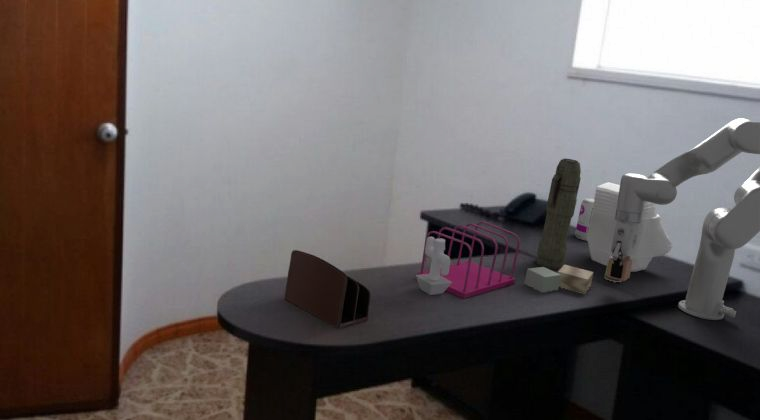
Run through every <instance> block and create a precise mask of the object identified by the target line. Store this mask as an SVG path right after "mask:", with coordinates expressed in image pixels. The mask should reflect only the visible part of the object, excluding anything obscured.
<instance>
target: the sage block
mask: <svg viewBox="0 0 760 420" xmlns="http://www.w3.org/2000/svg"><path fill="white" fill-rule="evenodd" d="M560 278H561V275H560V274H558V272H556V271H553V270H551V269H550V268H547V267H543V266H540V267H532V268H530V267H529V268H527V269H526V274H525V280H524V285H525V284H526V286H527V285H528V286H527V287H529V286H530V288H531V287H533V288H534V290H535V289H537V290H539V291H541V292H543V293H546V292H545V291H550V292H553V291H552V290H556V291H558V290H559V283H560ZM533 288H532V289H533ZM537 290H536V291H537ZM539 291H538V292H539ZM541 292H540V293H541Z"/></svg>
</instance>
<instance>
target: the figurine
mask: <svg viewBox="0 0 760 420" xmlns="http://www.w3.org/2000/svg"><path fill="white" fill-rule="evenodd" d="M445 250H446V239H445V238H441V237H440V239H438V238H435V237H434V236H429V237H428V238H427V241H426V248H425V254H426V255H425V257H427V258H430V259H431V262H430V269H429V270H430V273H429V274H422V275H417V274H415V278H416V280H417V283H418V286H419V288H420V290H421V291H423V292H425V293H427V294H428V295H430V296H431V295H432V296H433V295H441V294H444V293H445V292H446V291H445V290H446V289H447V288H448V287H449V286H450V284H451V283H452V282H451V281H449V280H447V279H445V278H444V277H442V276H440V270H441V275H443V276H446V275H448V273H449V268H450V265H451V258H450V257H451V256H450V257H449V256H448V254H445V253H444V252H445Z"/></svg>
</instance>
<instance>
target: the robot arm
mask: <svg viewBox="0 0 760 420" xmlns="http://www.w3.org/2000/svg"><path fill="white" fill-rule="evenodd" d="M741 153H746V154H754V155H760V122H758V121H754V120H751V119H748V118H743V117H739V118H736V119H733V120H731V121H730V122H728V123H726V124H725V125H724V126H722V128H720V129H718V130H717V131H716V132H714V133H713V134H712V135H710V136H708V138H706V139H705V140H703V141H702V142H700V143H699V144H697V145H696V146H694V147H693V148H691V149H689V150H687V151H685V152H684V153H682V154H680V155H677V156H676V157H674V158H672V159H671V160H669V161H668V162H666V163H665V164H663V165H662V166H661V167H659V168H658V169H656V170H655V171H653V172H652V173H651V174H650V175H649V176H648V177H647V176H646V175H642V174H638V173H625V174H623V175H622V176H621V178H620V184H619V185H620V188H619V195H618V201H617V207H616V213H615V220H616V221H617V223H616V227H615V232H614V237H613V242H612V250H611V252H612V253H613V256H612V257H613V261H612V267H611V273H610V276H611V277H615V278H619V279H620V278H621V277H622V271H623V265H622V264H623V260H624V256H625V257H629V258H630V257H631V254H633V253H635V252H636V250H637V245H638V237H639V226H640V224H641V222H642V216H643V210H644V204H645V201H647V202H651V203H655V205H660V206H662V205H663V206H666V205H669V204H671V203H673V202H674V200H676V197H677V195H678V189H677V187H678V186H680V185H681V184H683V183H684V182H687V180H689V179H691V178H693V177H697V176H701V175H708V174H710V173H714V172H715V171H717V170H718V169H720V168H721V167H722V166H724V165H725V164H727V163H728V162H730V161H731V160H733V159H734V158H735V157H737V156H738V155H739V154H741ZM733 201H734V203H735V205H734V206H733V207H732V209H731V208H729V207H723V206H722V207H716V208H714V209H712V210H711V211H710V212H708V213H707V215H706V216H705V217H704V221H703V223H702V228H701V235H700V242H699V247H698V251H697V255H696V258H695V263H694V265H693V270H692V273H691V277H690V281H689V284H688V289H687V292H686V295H685V299H683V300H680V301H679V302H678V305H677V307H678V308H679V310H681V311H683V312H684V313H686V314H688V315H691V316H693V317H697V318H700V319H703V320H710V321H719V320H722V319H723V318H724V317H725V315H726V316H729V317H731V318H735V317H736V313H737V310H734V308H732V307H728V306H726V305H724V303H725V300H723V298H724V294H725V291H726V287H727V283H728V280H729V276H730V273H731V268H732V265H733V262H734V259H735V254H736V250H738V249H741V248H742V247H744V246H745V245H747V243H749V242H750V241H751V240H752V239H753V238H754V237H755V236H757V234H759V233H760V166H759V167H758V168H757V169H756V170H755V171H754V172H753V173H751V175H750V176H749V177H748V178H747V179H745V181H743V182H742V183H741V184H740V186H738V188H737V189H736V190H735V191H734V194H733ZM619 252H620V254H619ZM619 256H620V257H621V260H620V258H619Z"/></svg>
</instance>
